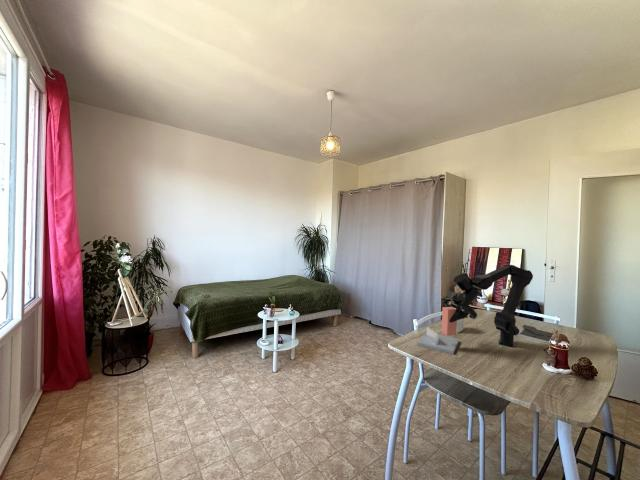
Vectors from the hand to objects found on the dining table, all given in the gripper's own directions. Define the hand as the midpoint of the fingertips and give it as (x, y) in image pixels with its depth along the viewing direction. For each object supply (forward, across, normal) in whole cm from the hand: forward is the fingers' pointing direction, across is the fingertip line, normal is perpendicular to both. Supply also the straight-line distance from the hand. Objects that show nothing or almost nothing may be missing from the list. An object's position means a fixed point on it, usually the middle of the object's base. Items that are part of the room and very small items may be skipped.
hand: (446, 320), depth 128 cm
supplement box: (-6, -22, +25) cm, 34 cm away
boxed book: (+4, 0, +6) cm, 7 cm away
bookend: (+11, -6, +6) cm, 14 cm away
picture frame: (-34, -6, +54) cm, 64 cm away
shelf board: (+10, -6, +10) cm, 15 cm away
